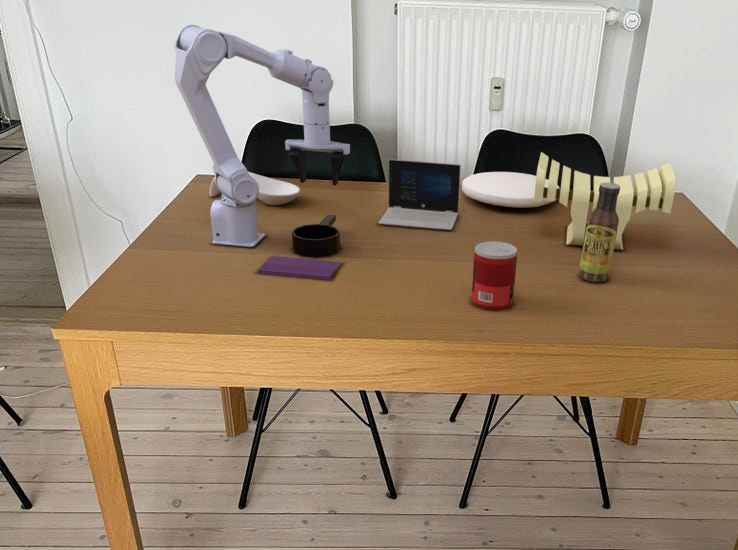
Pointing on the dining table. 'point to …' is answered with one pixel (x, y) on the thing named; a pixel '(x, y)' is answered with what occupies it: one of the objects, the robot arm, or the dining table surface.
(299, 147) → the robot arm
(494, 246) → the canned food
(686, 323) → the dining table surface
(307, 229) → the pan
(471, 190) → the plate
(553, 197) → the slatted curved stool
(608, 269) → the sauce bottle
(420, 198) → the laptop
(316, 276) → the rag
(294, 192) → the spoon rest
